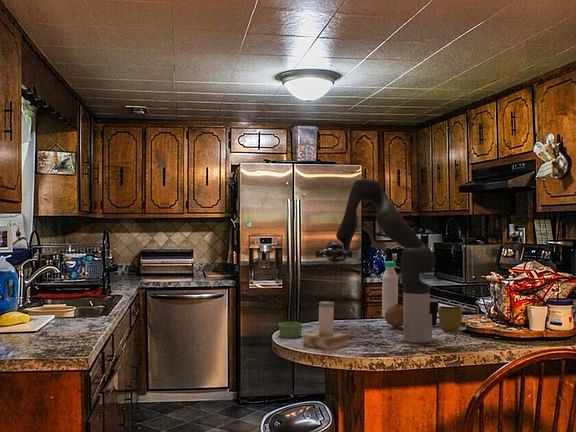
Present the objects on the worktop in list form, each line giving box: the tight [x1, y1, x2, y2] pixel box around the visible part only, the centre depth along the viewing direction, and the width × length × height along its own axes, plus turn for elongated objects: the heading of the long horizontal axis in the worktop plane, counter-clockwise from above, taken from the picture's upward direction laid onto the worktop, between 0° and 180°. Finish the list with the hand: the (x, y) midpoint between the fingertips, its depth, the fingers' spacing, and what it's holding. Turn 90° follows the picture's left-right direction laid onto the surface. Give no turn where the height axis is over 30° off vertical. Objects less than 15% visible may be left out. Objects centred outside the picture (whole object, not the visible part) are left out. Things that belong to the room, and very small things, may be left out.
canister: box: [317, 300, 335, 336], centre depth 191 cm, size 5×5×11 cm
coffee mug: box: [430, 298, 440, 327], centre depth 232 cm, size 12×9×10 cm
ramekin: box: [278, 321, 304, 339], centre depth 206 cm, size 9×9×4 cm
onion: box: [384, 303, 403, 329], centre depth 222 cm, size 10×9×10 cm
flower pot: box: [437, 305, 463, 333], centre depth 217 cm, size 9×9×9 cm
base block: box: [302, 331, 349, 351], centre depth 190 cm, size 11×11×4 cm
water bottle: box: [381, 261, 399, 319], centre depth 248 cm, size 7×7×25 cm
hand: (333, 254), depth 210 cm, fingers open, 8 cm apart
